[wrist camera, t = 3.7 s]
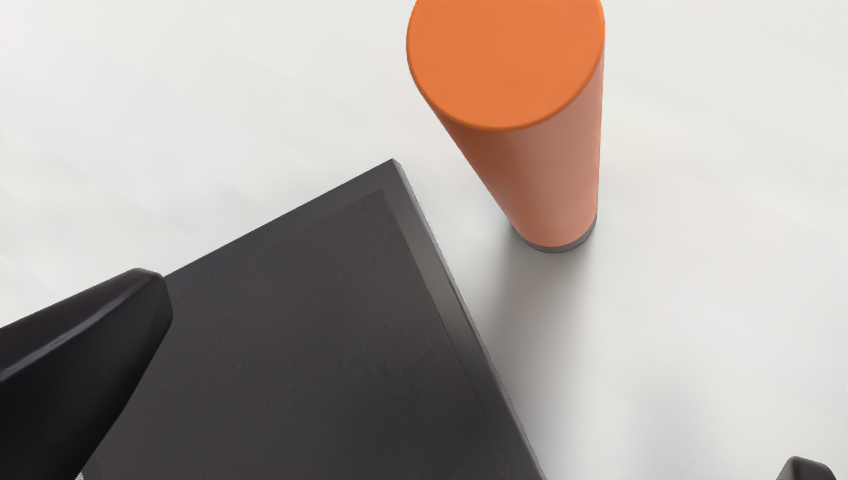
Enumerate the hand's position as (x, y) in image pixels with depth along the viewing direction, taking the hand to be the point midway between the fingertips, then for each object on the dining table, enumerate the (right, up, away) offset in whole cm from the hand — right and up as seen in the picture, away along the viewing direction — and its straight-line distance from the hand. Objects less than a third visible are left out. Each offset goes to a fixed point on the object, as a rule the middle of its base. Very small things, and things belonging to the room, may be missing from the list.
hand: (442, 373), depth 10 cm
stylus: (+4, +3, +11) cm, 12 cm away
